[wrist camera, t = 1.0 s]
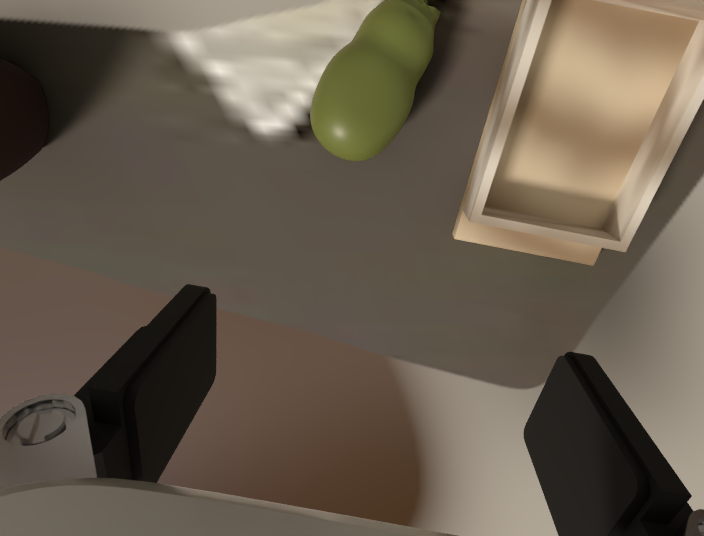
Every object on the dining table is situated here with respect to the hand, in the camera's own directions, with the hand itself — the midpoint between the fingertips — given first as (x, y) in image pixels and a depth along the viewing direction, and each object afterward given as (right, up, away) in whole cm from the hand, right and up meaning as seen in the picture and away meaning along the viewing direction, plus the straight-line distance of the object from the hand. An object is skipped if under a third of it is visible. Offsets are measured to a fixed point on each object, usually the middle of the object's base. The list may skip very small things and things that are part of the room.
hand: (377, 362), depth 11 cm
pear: (+1, +15, +15) cm, 21 cm away
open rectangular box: (+13, +12, +15) cm, 24 cm away
